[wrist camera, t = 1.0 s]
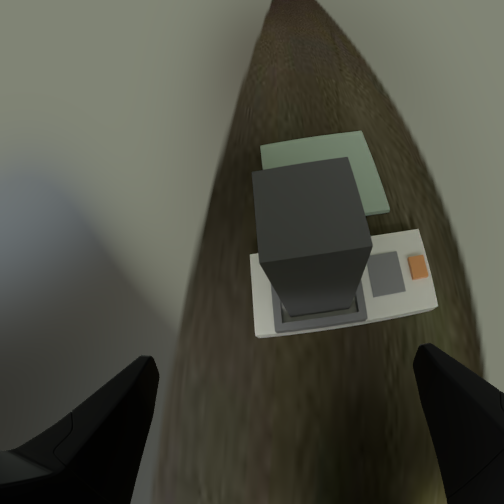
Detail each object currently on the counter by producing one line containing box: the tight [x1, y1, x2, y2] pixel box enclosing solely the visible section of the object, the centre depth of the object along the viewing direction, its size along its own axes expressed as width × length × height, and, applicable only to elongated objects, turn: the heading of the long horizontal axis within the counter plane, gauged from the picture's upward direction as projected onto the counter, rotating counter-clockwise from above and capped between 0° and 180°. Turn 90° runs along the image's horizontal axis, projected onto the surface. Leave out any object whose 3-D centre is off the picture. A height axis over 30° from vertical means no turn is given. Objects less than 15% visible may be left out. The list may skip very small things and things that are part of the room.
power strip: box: [250, 229, 438, 338], centre depth 20 cm, size 6×13×2 cm, turn 94°
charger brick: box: [252, 157, 373, 317], centre depth 16 cm, size 4×4×10 cm
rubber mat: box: [260, 131, 390, 216], centre depth 25 cm, size 9×10×1 cm
